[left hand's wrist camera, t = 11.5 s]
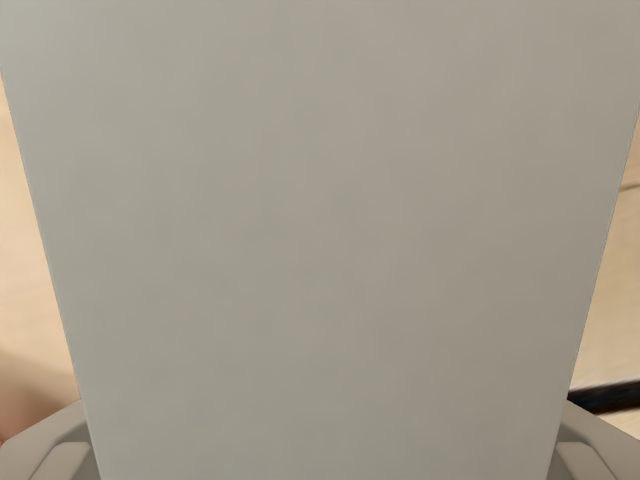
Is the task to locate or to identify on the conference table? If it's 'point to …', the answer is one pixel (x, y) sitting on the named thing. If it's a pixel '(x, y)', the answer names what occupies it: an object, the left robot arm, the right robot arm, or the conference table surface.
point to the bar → (323, 224)
